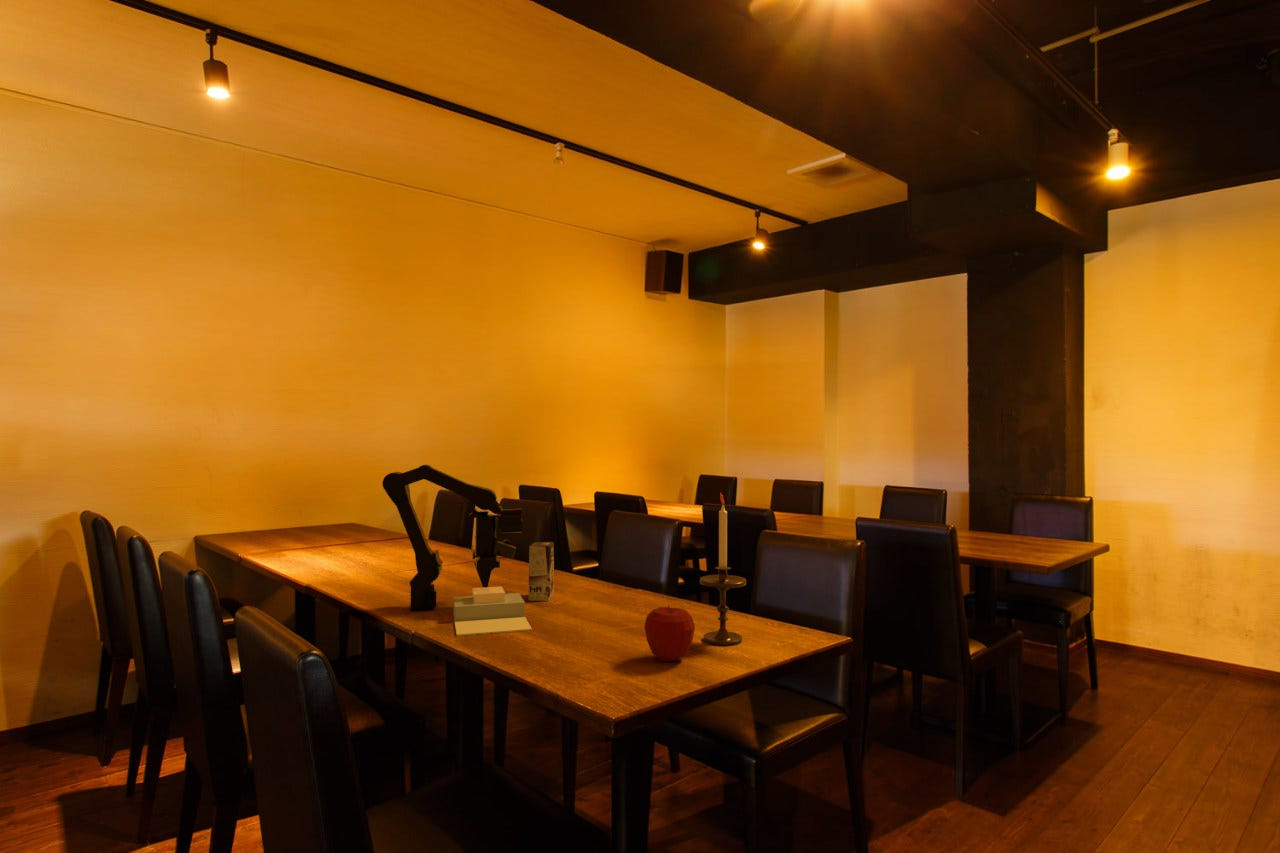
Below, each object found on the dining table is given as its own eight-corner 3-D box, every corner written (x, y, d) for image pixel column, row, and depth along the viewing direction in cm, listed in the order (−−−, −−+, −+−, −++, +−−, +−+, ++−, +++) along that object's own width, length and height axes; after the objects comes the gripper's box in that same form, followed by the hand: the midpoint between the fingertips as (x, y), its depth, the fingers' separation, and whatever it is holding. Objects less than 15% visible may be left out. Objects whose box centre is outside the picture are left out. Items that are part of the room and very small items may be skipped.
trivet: (474, 603, 182) (474, 594, 182) (472, 597, 189) (472, 588, 189) (504, 601, 184) (505, 592, 184) (501, 595, 192) (501, 586, 192)
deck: (454, 622, 178) (454, 606, 178) (452, 611, 190) (452, 596, 190) (524, 617, 183) (524, 602, 184) (518, 607, 195) (518, 592, 195)
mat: (456, 636, 166) (456, 634, 166) (454, 623, 177) (454, 621, 177) (531, 630, 171) (531, 628, 171) (525, 618, 183) (525, 616, 183)
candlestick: (709, 648, 157) (710, 494, 158) (693, 635, 167) (693, 490, 168) (753, 645, 160) (753, 493, 160) (734, 632, 170) (735, 490, 171)
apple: (656, 670, 142) (656, 613, 142) (636, 655, 152) (636, 601, 152) (703, 663, 146) (703, 608, 146) (680, 649, 156) (681, 597, 156)
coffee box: (549, 601, 202) (550, 546, 203) (527, 601, 202) (528, 545, 203) (554, 594, 211) (554, 541, 212) (533, 594, 211) (533, 541, 212)
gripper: (518, 536, 190) (518, 593, 189) (510, 528, 208) (510, 580, 207) (477, 538, 186) (476, 596, 186) (472, 529, 204) (471, 582, 204)
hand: (485, 588), depth 196 cm, fingers closed
